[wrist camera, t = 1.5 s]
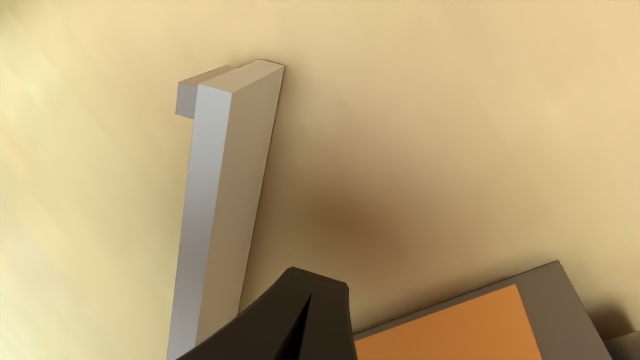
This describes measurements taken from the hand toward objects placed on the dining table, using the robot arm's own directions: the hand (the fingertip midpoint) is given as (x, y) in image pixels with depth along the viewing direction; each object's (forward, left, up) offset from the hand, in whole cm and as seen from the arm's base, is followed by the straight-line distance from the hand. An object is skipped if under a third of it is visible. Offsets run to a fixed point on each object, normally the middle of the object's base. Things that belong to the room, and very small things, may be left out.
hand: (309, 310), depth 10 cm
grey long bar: (-5, +1, -6) cm, 7 cm away
